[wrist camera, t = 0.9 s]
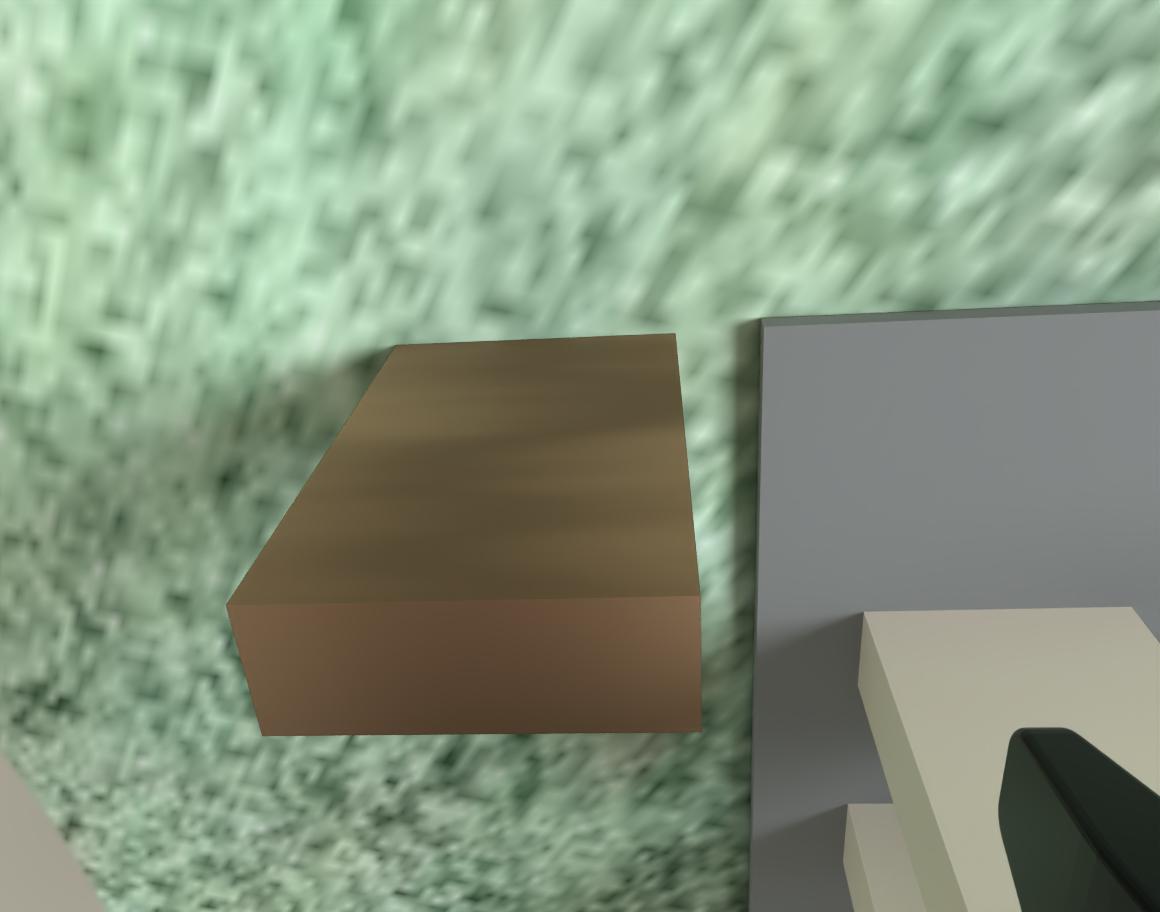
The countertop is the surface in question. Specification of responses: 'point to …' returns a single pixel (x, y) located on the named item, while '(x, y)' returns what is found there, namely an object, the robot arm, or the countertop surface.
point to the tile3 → (879, 861)
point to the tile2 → (996, 723)
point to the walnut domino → (488, 552)
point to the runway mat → (928, 524)
